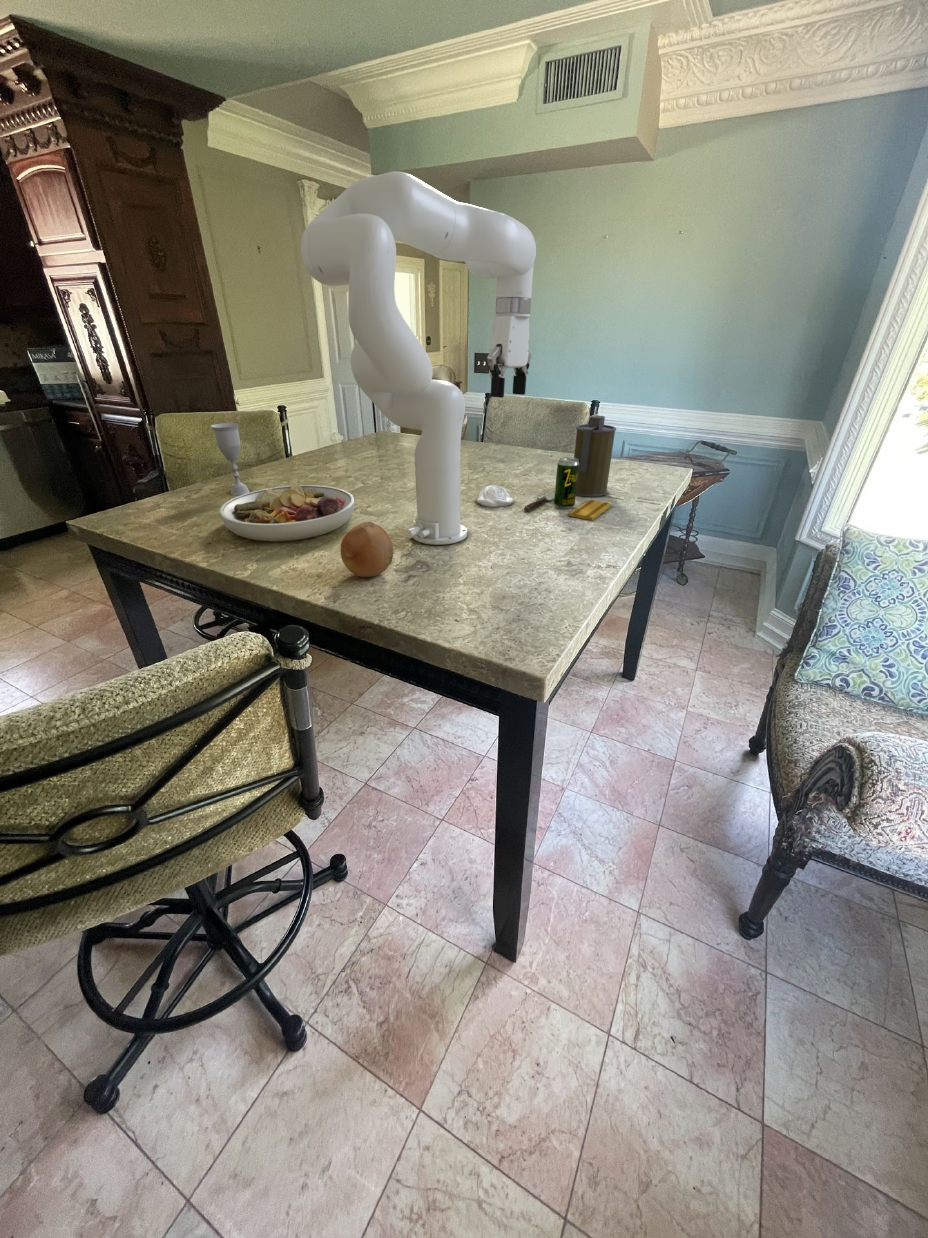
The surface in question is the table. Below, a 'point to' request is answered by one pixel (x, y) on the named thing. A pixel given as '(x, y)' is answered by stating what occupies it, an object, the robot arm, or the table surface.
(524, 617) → the table surface
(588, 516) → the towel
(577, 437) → the canister
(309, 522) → the bowl
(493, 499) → the rose
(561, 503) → the beer can
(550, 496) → the spatula
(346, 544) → the onion
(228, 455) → the chalice
